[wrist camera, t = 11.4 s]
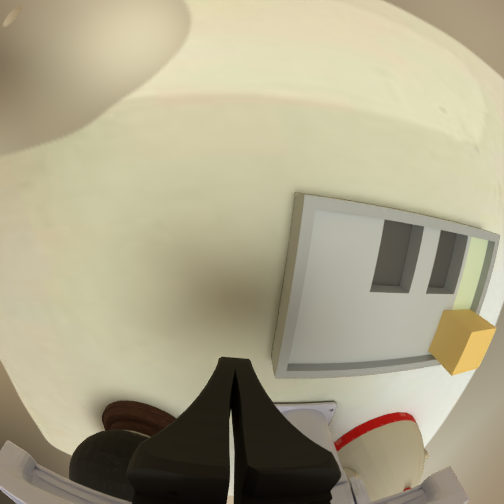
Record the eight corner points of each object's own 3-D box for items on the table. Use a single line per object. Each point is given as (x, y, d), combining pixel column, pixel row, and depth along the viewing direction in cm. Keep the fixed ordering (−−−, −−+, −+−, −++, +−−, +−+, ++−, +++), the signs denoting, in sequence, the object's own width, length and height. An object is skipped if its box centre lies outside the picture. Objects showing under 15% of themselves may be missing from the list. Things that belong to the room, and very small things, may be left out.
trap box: (445, 347, 24) (459, 360, 21) (271, 356, 23) (274, 378, 20) (481, 228, 21) (500, 235, 18) (295, 192, 19) (304, 194, 16)
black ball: (159, 465, 28) (142, 548, 13) (82, 415, 25) (40, 498, 11) (223, 440, 26) (219, 550, 12) (130, 377, 23) (76, 498, 9)
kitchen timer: (313, 473, 30) (331, 551, 15) (343, 420, 26) (381, 522, 12) (390, 458, 30) (419, 522, 16) (428, 404, 27) (477, 476, 13)
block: (455, 346, 22) (478, 367, 18) (428, 350, 22) (451, 375, 17) (469, 308, 21) (496, 327, 16) (443, 310, 20) (471, 332, 16)
